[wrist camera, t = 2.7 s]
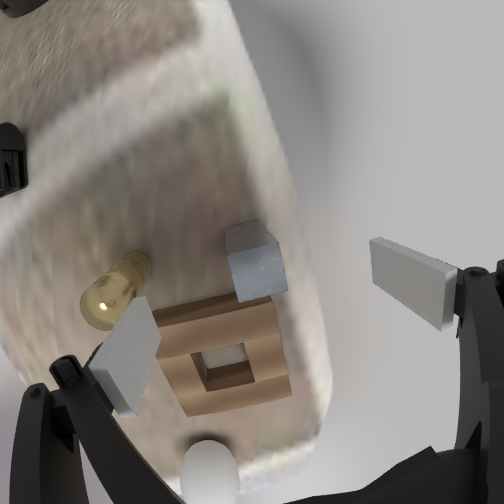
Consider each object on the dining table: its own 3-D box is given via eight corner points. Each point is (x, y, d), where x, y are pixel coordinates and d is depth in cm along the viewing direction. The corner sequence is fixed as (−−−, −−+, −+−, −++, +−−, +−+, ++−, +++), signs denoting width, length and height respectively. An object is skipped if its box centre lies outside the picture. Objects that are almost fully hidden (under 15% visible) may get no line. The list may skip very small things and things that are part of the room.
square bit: (224, 227, 26) (226, 255, 17) (257, 220, 26) (278, 242, 17) (231, 259, 27) (239, 302, 18) (264, 252, 27) (288, 290, 18)
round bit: (118, 255, 26) (73, 293, 16) (146, 247, 26) (110, 283, 16) (128, 285, 27) (90, 333, 17) (156, 278, 27) (127, 327, 17)
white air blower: (236, 455, 35) (248, 552, 18) (186, 456, 34) (184, 551, 17) (234, 427, 33) (248, 540, 16) (178, 427, 32) (170, 539, 15)
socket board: (152, 311, 28) (144, 330, 24) (265, 285, 28) (272, 301, 24) (189, 394, 31) (187, 416, 27) (284, 374, 31) (292, 395, 27)
